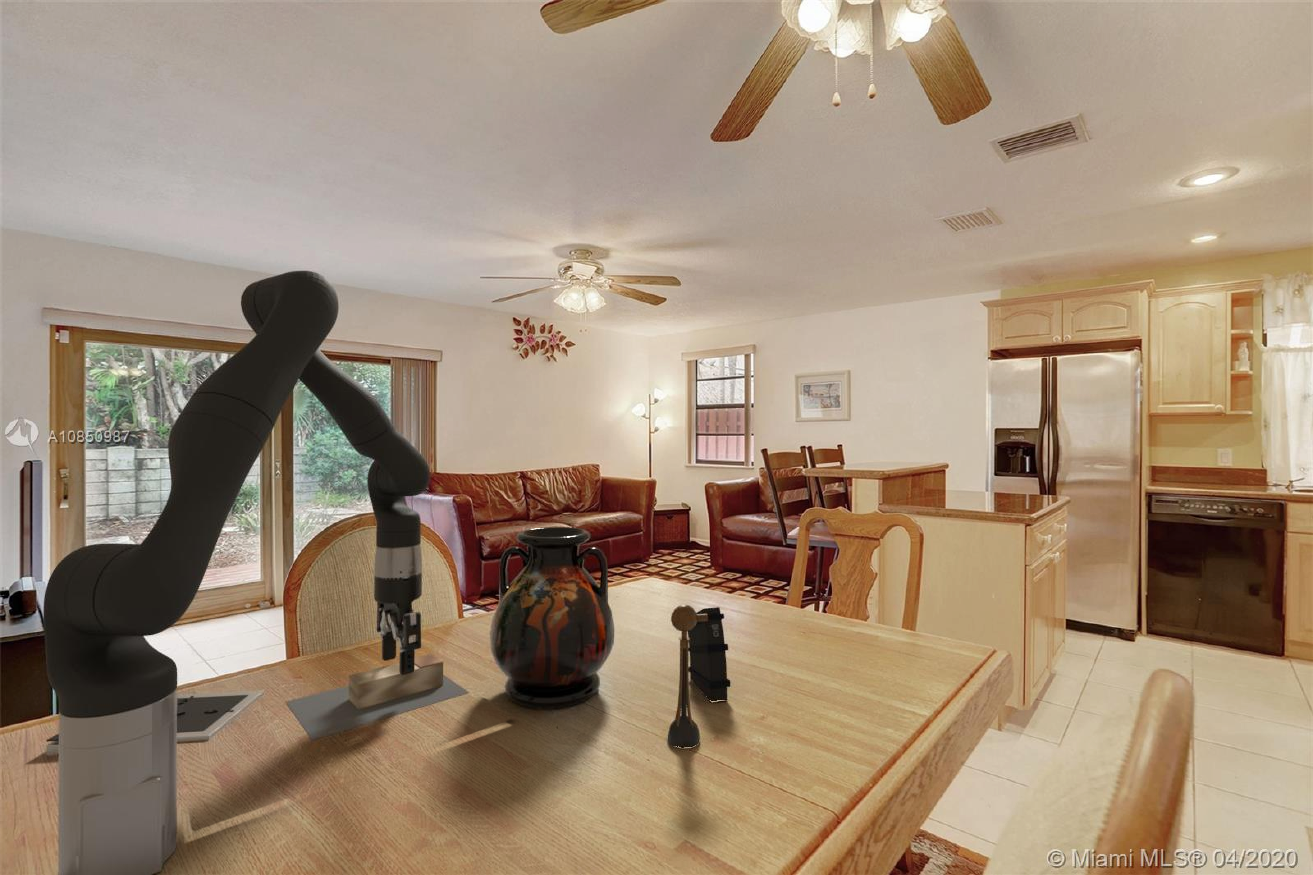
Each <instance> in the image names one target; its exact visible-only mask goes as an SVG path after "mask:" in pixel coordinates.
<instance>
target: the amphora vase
mask: <svg viewBox="0 0 1313 875" xmlns="http://www.w3.org/2000/svg"><path fill="white" fill-rule="evenodd" d="M515 539H516V541H517V542H518V543H520V544H521V545H524V546H526V548H527V549H526V550H527V551H526V550H524V549H523V548H522V547H520V546H514V545H513V546H509V547H508V548H506V549H505V550H504V552H503V554H502V556H501V558H500V559H499V560H500V561H499V569H498V570H499V574H498V578H499V581H498V582H499V588H498V589H499V590H498V594H499V595H498V599H499V600H498V604H497V607H496V609H495V612H494V614H493V616H492V619H491V625H490V631H489V641H490V642H489V643H490V644H489V646H490V650H491V654H492V657H493V659H494V662H495V664H496V665H497V667H498V668H499V669H500V671H501V672H502V673H503V674H504V675H505V676H506V677H508V678H507V680H506V681H505V685H504V692H505V694H506V696H507V697H508V698H509V699H510V700H512V701H513V702H514V703H515V704H518V705H521V706H525V707H527V708H531V709H532V708H533V709H543V710H545V709H559V708H566V707H570V706H575V705H577V704H579V703H582V702H584V701H587V700H589V699H590V698H591V697H592V696H594V695H595V694H596V692H597V691H598V689H599V688H600V685H601V678H600V676H599V674H598V671H600V669H602V667H603V665H604V664H605V663H606V661H607V660H608V657H609V656H610V655H611V653H612V650H613V647H614V644H615V624H614V616H613V612H612V609H611V607H610V604H609V579H608V578H609V577H608V574H609V573H608V563H607V560H608V559H607V557H606V556H605V554H604V552H603V550H602V549H600V548H598V547H597V546H596V547H595V546H591V547H586V548H585V549H584V550H582V551H581V552H580V553H579V550H580V546H581V545H582V544H584V543H586V542H587V541H589V540H590V539H591V534H590V532H589V531H587V530H586V529H582V528H576V527H566V526H565V527H560V526H559V527H557V526H556V527H554V526H553V527H540V528H539V527H537V528H531V529H526V530H522V531H520V532H519V533H517V535H516V536H515ZM513 554H515V555H518V556H519V558H521V560H522V565H523V566H522V568H523V569H522V570H521V571H520V572H519V573H518V575H517V576H516V577H514V579H513V580H512V581H511V582H510V583H509V580H508V566H509V559H510V557H511V555H513ZM589 555H594V556H595V557H596V558H597V560H598V562H599V567H600V582H599V584H600V585H599V584H598V582H597V581H596V580H595V579H594V577H593V576H592V575H591V574H590V573H589V571H587V569H586V568H585V567H584V564H585V558H586V557H587V556H589Z"/></svg>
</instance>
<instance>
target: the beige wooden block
mask: <svg viewBox="0 0 1313 875" xmlns="http://www.w3.org/2000/svg"><path fill="white" fill-rule="evenodd" d="M443 675H444V661H443V660H442V659H441V658H439V657H438V656H436V655H434V654H433V653H429V654H426V655H421V656H417V657H414V671H413V672H412V673H409V674H405V675H402V674H401V673H400V672H399V662H397V663H394V664H389V665H386V666H382V667H381V666H380V667H377V668H373V669H369V670H365V671H361V672H357V673H353V674H349V675H348V686H349V700H350V701H351V702H352V703H353V704H354V705H355V706H356V707H357V708H358V709H361V708H364V707H368V706H371V705H375V704H378V703H382V702H386V701H389V700H393V699H396V698H400V697H403V696H407V695H410V694H414V693H417V692H421V691H424V690H428V689H431V688H435V687H438V686H442V685H443Z"/></svg>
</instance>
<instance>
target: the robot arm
mask: <svg viewBox="0 0 1313 875" xmlns="http://www.w3.org/2000/svg"><path fill="white" fill-rule="evenodd" d="M240 298H241V299H240V307H241V311H242V315H243V317H244V319H245V321H246V322H247V324H248V325H249V327H250V328H251V330H252V331H253V332H254V333H255V335H254V337H253V338H252V339H251V340H250V341H249V342H248V343H246V345H244V346H243V347H242V348H241V349H240V350H238V351H237V352H236V353H235V354H233V355H232V356H231V357H230V358H228V359H227V360H226V361H225V362H223V363H222V364H221V365H220V366H219V367H217V368H216V369H215V370H214V371H213V372H212V373H211V374H210V375H209V376H208V377H207V378H206V379H204V380H203V382H202V383H200V385H198V387H197V388H196V389H195V391H194V392H193V393H192V395H191V397H190V398H189V400H188V401H187V403H186V404H185V406H184V407H183V409H182V410H181V411H180V414H179V415H178V417H177V418H176V420H175V422H174V424H173V426H172V427H171V430H170V433H169V436H168V444H167V452H168V454H167V455H168V464H169V473H170V474H169V475H170V492H169V495H168V497H167V501H166V503H165V506H164V508H163V510H162V512H161V513H160V515H159V516H158V519H157V520H156V522H155V524H154V525H153V527H152V529H151V530H150V531H149V533H148V534H147V535H146V537H144V539H143V541H142V542H141V543H116V542H115V543H114V542H113V543H112V542H111V543H110V542H109V543H96V544H89V545H85V546H82V547H79V548H77V549H75V550H73V551H72V552H70V553H69V554H67V555H66V556H64V557H63V558H62V559H61V560H60V561H59V562H58V563H57V565H56V567H55V568H54V570H53V571H52V572H51V574H50V577H49V579H48V580H47V584H46V589H45V591H44V597H43V598H44V599H43V613H42V614H43V630H44V631H43V632H44V644H45V658H46V659H45V661H46V672H47V673H46V674H47V679H48V683H49V684H50V686H51V688H52V690H53V691H54V692H55V694H56V695H57V698H58V699H57V700H58V734H59V755H58V782H57V783H58V787H57V788H58V792H57V793H58V794H57V795H58V796H57V797H58V801H57V802H58V808H57V809H58V811H57V812H58V813H57V814H58V815H57V816H58V818H57V819H58V821H57V822H58V825H57V826H58V827H57V831H58V833H57V837H58V838H57V844H58V847H57V848H58V861H57V862H58V870H57V871H58V872H57V873H58V875H154V874H157V873H159V872H161V871H163V864H164V863H165V862H166V861H167V860H168V859H169V858H170V857H171V856H172V855H173V854H174V852H175V850H176V848H177V844H178V841H177V840H178V839H177V838H178V832H177V831H178V830H177V829H178V826H177V825H178V824H177V823H178V821H177V820H178V806H177V803H178V802H177V800H178V799H177V797H178V795H177V793H178V786H177V781H178V780H177V779H178V778H177V777H178V770H177V769H178V767H177V766H178V764H177V763H178V762H177V761H178V755H177V754H178V753H177V752H178V742H177V695H178V666H177V664H176V662H175V661H174V659H172V658H171V657H169V656H168V655H166V654H164V653H163V652H160V651H159V650H157V648H155V647H154V646H152V645H151V644H150V643H149V642H148V640H147V639H146V638H145V637H149V636H154V635H158V634H160V633H162V632H165V631H166V630H168V629H170V628H171V627H173V626H174V625H175V623H177V622H178V621H179V620H180V619H181V618H182V617H183V616H184V614H185V613H186V612H187V610H188V609H189V607H190V606H191V605H192V603H193V601H194V599H195V597H196V595H197V592H198V591H199V588H200V586H201V585H202V582H203V579H204V576H206V573H207V569H208V567H209V565H210V561H211V559H212V558H213V557H212V556H213V554H214V552H215V550H216V549H215V548H216V546H217V543H218V541H219V538H220V537H221V536H220V535H221V533H222V531H223V528H224V525H225V523H226V521H227V518H228V516H229V514H230V511H231V509H233V508H232V507H233V506H234V504H235V503H236V502H235V501H236V500H237V498H238V495H239V493H240V491H241V489H242V487H243V485H244V483H245V481H246V479H247V477H248V475H249V473H250V471H251V469H252V468H253V466H254V464H255V462H256V461H257V459H258V457H259V456H260V454H261V452H262V450H263V448H264V446H265V444H266V442H267V441H268V439H269V437H270V436H271V433H272V431H273V429H274V427H275V425H276V423H277V420H278V418H279V416H280V414H281V412H282V410H283V408H284V407H285V405H286V403H287V402H288V400H289V397H290V396H291V394H292V392H294V391H293V390H294V389H295V387H296V385H297V383H298V381H300V382H301V383H302V384H303V385H304V386H305V387H306V388H307V390H309V392H310V393H311V394H312V395H313V396H314V397H316V399H317V400H318V401H319V403H320V404H321V405H322V406H323V407H324V409H325V410H326V411H327V413H329V415H330V416H331V418H332V419H333V420H334V423H335V424H336V425H337V426H338V428H339V429H340V430H341V431H342V434H344V436H345V438H346V439H347V441H348V442H349V444H350V445H351V446H352V448H353V449H354V450H355V451H356V453H358V454H359V455H360V456H362V457H365V458H368V459H371V460H373V462H372V463H371V464H370V466H369V469H368V473H367V478H366V481H367V489H368V495H369V498H370V503H371V506H372V511H373V514H374V517H375V521H376V529H375V530H376V534H375V535H376V538H375V540H376V541H375V545H376V546H375V554H374V564H373V565H374V566H373V567H374V570H373V572H374V574H373V575H374V578H373V580H374V583H373V586H374V588H373V598H374V601H375V602H376V603H377V605H376V606H377V607H376V613H377V614H376V628H375V629H376V632H377V633H379V637H380V639H381V659H382V661H385V662H386V661H391V660H395V658H396V657H397V644H398V648H399V661H398V663H399V672H400V673H401V674H402V675H405V674H409V673H412V672H413V671H414V658H416V657H415V656H416V655H415V653H416V652H415V650H418V649H421V648H422V622H421V620H422V617H421V612H420V611H414V609H413V605H412V603H413V602H414V601H415V600H418V599H420V598H421V597H422V594H423V593H422V592H423V590H422V589H423V554H422V547H421V546H422V542H421V540H422V539H421V538H422V537H421V536H422V535H421V534H422V533H421V532H422V530H421V529H422V525H421V524H422V523H421V522H422V521H421V516H420V514H419V512H417V511H415V510H414V509H411V507H409V506H408V503H407V500H406V497H409V498H410V497H416V496H419V495H421V494H422V493H424V492H425V491H426V490H427V489H428V486H429V485H430V483H431V482H430V481H431V470H430V467H429V465H428V462H427V460H426V459H425V457H424V455H422V453H421V452H420V451H418V449H417V448H416V447H415V446H414V445H413V444H412V443H411V442H410V441H409V440H408V439H407V438H406V437H405V436H404V435H402V433H400V431H398V430H397V429H396V428H395V426H394V424H393V422H392V421H391V420H390V418H389V416H388V414H387V413H386V411H385V410H384V408H383V406H382V405H381V403H380V402H379V401H378V399H377V398H376V397H375V395H374V394H373V393H372V392H371V391H370V390H368V389H367V387H365V386H364V385H363V384H362V383H360V382H359V381H358V380H356V379H355V378H354V377H353V376H351V375H350V374H348V373H347V372H346V371H344V370H343V369H341V368H340V367H339V366H338V365H337V364H335V363H334V362H333V361H331V360H330V359H329V358H328V357H327V356H326V355H325V354H324V353H323V352H322V351H321V350H320V346H321V345H322V344H323V342H324V341H325V340H326V339H327V337H328V335H329V334H330V333H331V331H332V329H334V326H335V324H336V322H337V319H338V314H339V298H338V295H337V290H336V289H335V288H334V285H333V284H332V283H331V282H330V281H329V280H328V279H327V278H326V277H325V276H324V275H322V274H319V273H318V272H315V271H313V270H312V271H310V270H291V271H288V272H284V273H281V274H277V275H274V276H270V277H265V278H263V279H260V280H257V281H254V282H252V283H250V284H249V285H248V286H246V287H245V289H244V290H243V292H242V294H241V296H240Z"/></svg>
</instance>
